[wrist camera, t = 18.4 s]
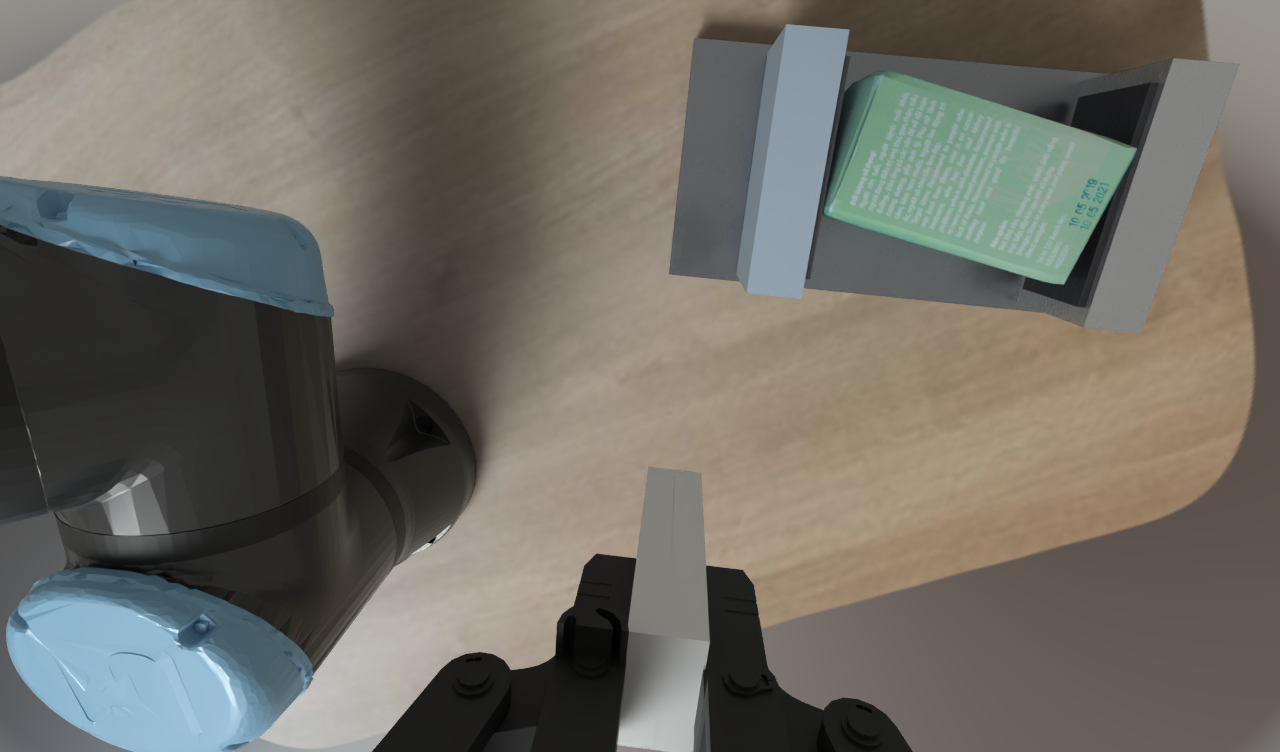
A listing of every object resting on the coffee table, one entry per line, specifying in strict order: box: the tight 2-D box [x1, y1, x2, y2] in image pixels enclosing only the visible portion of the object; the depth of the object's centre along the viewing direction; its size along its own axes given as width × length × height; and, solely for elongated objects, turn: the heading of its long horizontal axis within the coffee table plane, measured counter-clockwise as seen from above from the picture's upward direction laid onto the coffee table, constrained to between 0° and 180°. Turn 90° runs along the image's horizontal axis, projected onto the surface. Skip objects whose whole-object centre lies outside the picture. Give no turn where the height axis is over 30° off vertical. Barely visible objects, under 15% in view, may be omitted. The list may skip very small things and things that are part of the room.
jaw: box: [736, 24, 851, 299], centre depth 34 cm, size 3×13×7 cm, turn 175°
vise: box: [669, 38, 1239, 333], centre depth 35 cm, size 26×14×8 cm, turn 85°
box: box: [822, 70, 1137, 284], centre depth 34 cm, size 7×14×8 cm, turn 74°
